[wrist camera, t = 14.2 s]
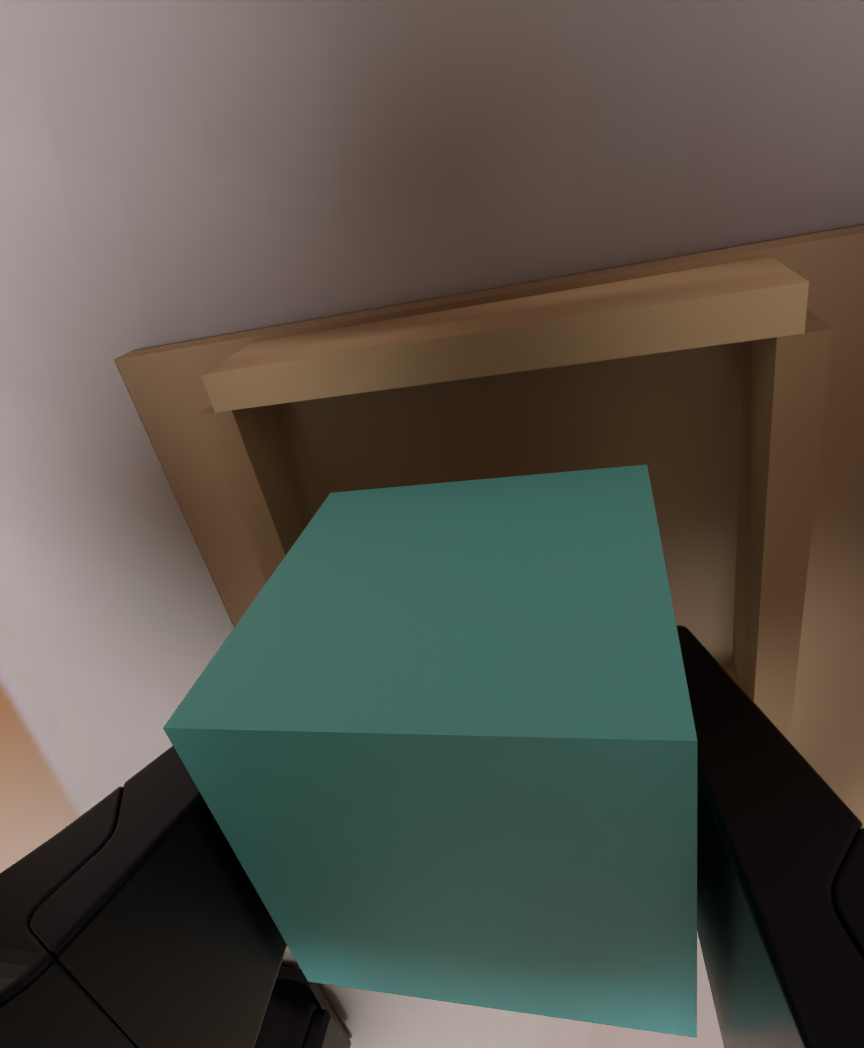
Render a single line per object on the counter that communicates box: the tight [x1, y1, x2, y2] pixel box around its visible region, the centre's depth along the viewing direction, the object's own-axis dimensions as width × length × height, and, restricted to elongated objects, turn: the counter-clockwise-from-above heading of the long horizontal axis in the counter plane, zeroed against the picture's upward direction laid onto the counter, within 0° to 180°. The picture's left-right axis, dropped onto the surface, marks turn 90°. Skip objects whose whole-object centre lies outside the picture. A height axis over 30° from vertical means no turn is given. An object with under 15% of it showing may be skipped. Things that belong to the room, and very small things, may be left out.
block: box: [163, 465, 697, 1038], centre depth 8 cm, size 4×4×4 cm
